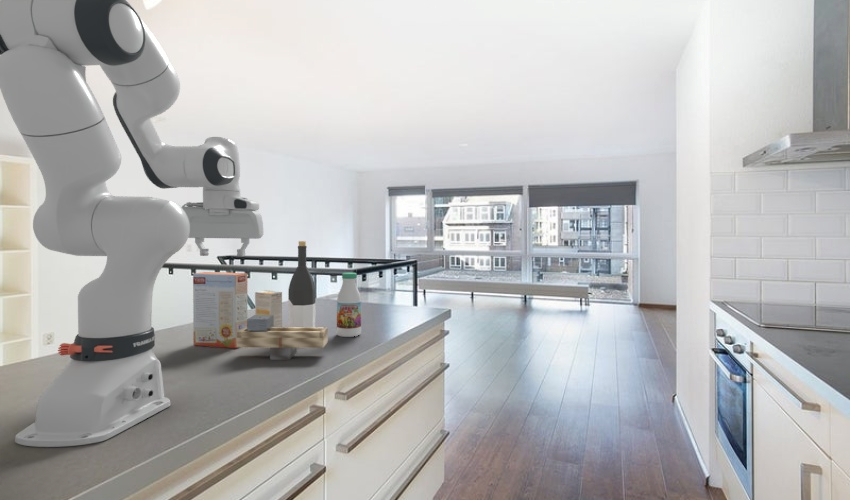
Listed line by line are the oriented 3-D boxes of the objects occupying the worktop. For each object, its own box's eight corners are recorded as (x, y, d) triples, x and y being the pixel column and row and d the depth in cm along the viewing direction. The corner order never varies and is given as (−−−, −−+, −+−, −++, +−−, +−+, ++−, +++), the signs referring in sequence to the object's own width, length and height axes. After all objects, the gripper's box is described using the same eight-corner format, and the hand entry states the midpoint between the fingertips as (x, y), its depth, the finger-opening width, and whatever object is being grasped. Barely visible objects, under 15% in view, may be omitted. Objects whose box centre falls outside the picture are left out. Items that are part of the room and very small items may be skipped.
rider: (273, 331, 118) (273, 315, 118) (267, 336, 113) (266, 319, 113) (254, 331, 118) (254, 315, 118) (247, 336, 113) (247, 319, 112)
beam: (327, 352, 120) (328, 326, 120) (322, 359, 113) (323, 332, 113) (246, 352, 119) (246, 326, 119) (236, 359, 112) (236, 332, 112)
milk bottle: (334, 333, 142) (334, 272, 141) (357, 331, 146) (357, 271, 145) (340, 338, 135) (340, 274, 134) (364, 336, 139) (364, 273, 138)
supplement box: (283, 331, 144) (283, 291, 144) (271, 334, 140) (270, 293, 140) (266, 328, 149) (266, 289, 148) (254, 330, 144) (254, 291, 144)
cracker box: (248, 344, 127) (248, 272, 126) (235, 349, 121) (234, 274, 121) (207, 340, 131) (207, 270, 130) (192, 345, 125) (192, 272, 124)
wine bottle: (317, 339, 134) (317, 241, 132) (289, 341, 131) (289, 241, 129) (313, 333, 141) (313, 241, 140) (287, 335, 138) (287, 240, 137)
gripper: (174, 201, 110) (175, 256, 110) (257, 202, 111) (257, 257, 111) (187, 202, 116) (188, 254, 117) (265, 203, 117) (265, 255, 118)
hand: (222, 255), depth 114 cm, fingers open, 8 cm apart
